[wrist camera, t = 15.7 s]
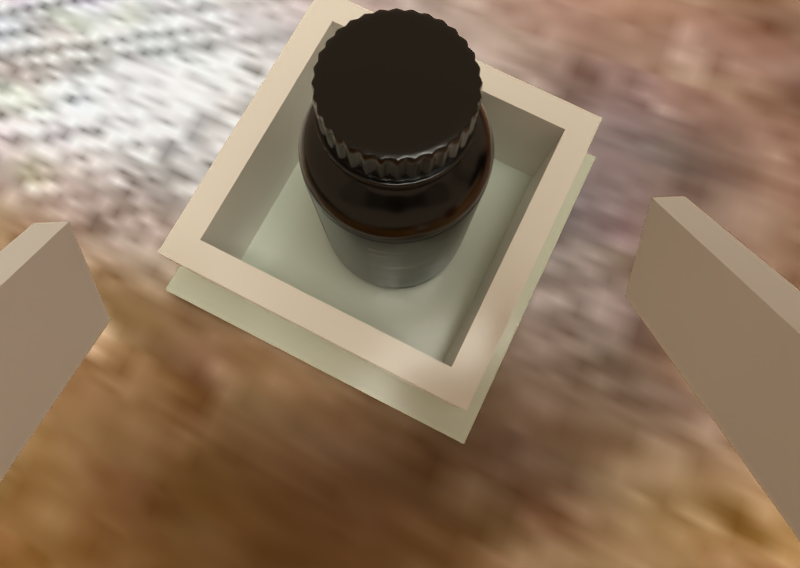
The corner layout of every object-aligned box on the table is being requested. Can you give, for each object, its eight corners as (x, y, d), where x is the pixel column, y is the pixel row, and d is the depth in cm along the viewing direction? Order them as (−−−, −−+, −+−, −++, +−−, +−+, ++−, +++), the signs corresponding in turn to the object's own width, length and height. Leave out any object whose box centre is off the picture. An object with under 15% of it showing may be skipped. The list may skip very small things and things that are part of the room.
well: (326, 47, 29) (309, -47, 23) (584, 168, 28) (642, 105, 22) (177, 295, 26) (110, 266, 20) (459, 440, 25) (483, 459, 19)
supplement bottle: (484, 192, 26) (562, 32, 15) (429, 312, 25) (465, 245, 13) (362, 138, 27) (341, -59, 15) (301, 254, 25) (227, 139, 14)
